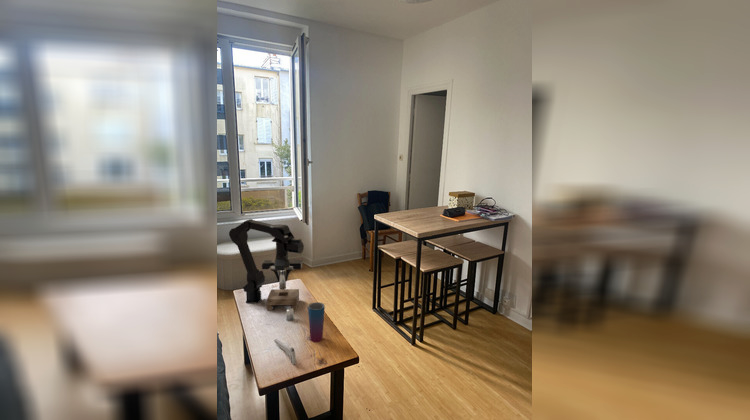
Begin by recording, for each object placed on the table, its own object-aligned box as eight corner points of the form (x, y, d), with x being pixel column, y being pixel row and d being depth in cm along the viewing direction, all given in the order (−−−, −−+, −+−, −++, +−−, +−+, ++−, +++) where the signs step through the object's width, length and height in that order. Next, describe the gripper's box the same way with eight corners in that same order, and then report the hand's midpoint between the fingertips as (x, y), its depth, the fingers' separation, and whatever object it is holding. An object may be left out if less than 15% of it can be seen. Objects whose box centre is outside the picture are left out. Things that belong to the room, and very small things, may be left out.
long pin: (278, 289, 182) (278, 271, 180) (279, 286, 185) (279, 269, 184) (285, 289, 182) (285, 272, 181) (286, 286, 185) (286, 269, 184)
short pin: (286, 321, 170) (286, 311, 169) (287, 317, 174) (286, 307, 173) (293, 320, 171) (293, 310, 170) (293, 317, 174) (293, 307, 173)
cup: (306, 336, 158) (306, 303, 155) (322, 333, 160) (322, 301, 158) (310, 344, 151) (310, 310, 149) (326, 341, 154) (326, 308, 151)
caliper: (295, 365, 138) (295, 349, 137) (293, 366, 138) (292, 350, 136) (275, 340, 154) (275, 326, 153) (273, 341, 154) (273, 327, 153)
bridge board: (267, 310, 180) (266, 299, 179) (271, 300, 191) (271, 289, 190) (296, 310, 181) (296, 298, 180) (298, 300, 193) (298, 289, 192)
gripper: (258, 255, 172) (259, 287, 174) (299, 256, 173) (299, 287, 176) (263, 248, 182) (264, 279, 185) (302, 249, 184) (302, 279, 187)
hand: (282, 281), depth 183 cm, fingers closed on long pin, 3 cm apart
